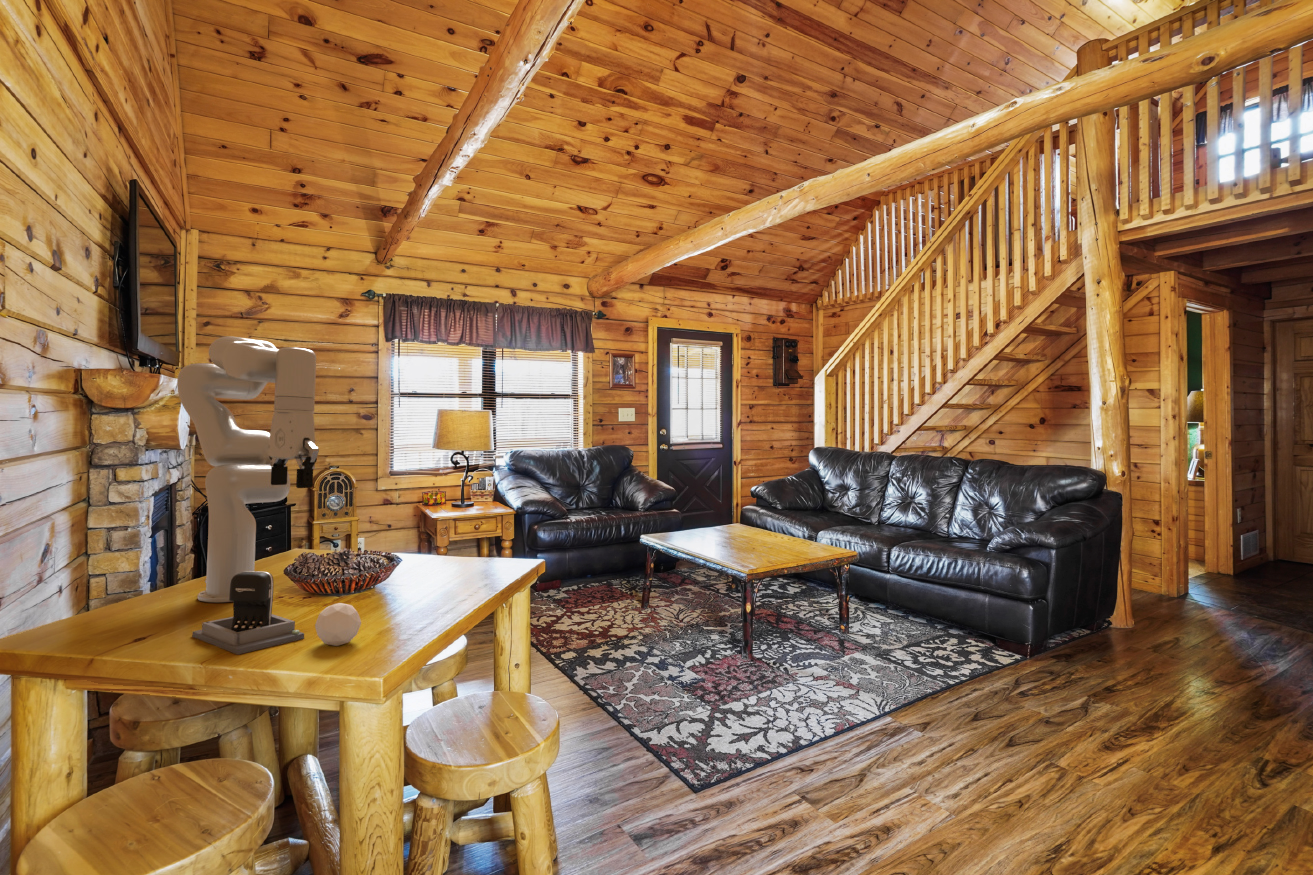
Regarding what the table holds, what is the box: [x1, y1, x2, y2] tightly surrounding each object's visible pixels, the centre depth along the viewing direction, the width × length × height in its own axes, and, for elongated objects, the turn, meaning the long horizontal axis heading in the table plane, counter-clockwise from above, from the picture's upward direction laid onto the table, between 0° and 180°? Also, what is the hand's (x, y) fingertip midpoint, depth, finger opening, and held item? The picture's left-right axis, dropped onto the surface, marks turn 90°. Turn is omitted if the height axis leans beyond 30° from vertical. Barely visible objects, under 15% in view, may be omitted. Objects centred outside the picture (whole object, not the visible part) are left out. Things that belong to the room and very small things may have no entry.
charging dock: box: [191, 613, 305, 655], centre depth 125 cm, size 17×12×3 cm
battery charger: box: [229, 570, 274, 632], centre depth 125 cm, size 7×4×11 cm, turn 91°
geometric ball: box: [314, 602, 362, 647], centre depth 124 cm, size 8×8×8 cm
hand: (291, 486), depth 139 cm, fingers open, 9 cm apart
